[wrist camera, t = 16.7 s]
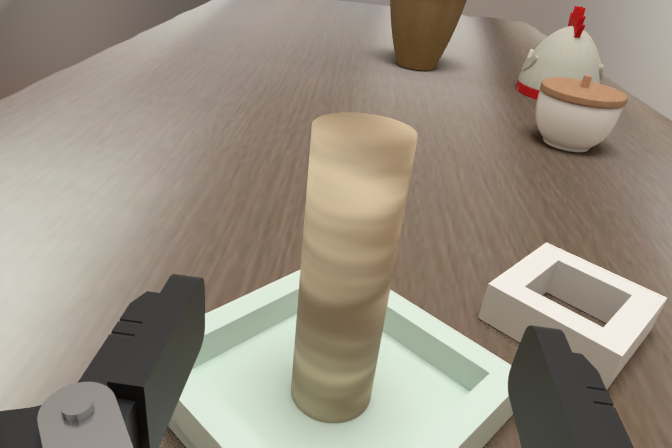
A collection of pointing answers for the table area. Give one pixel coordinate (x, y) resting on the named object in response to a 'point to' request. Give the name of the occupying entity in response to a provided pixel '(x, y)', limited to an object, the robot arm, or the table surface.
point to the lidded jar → (577, 112)
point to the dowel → (348, 258)
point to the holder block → (581, 292)
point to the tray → (387, 392)
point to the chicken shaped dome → (561, 57)
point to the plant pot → (423, 30)
